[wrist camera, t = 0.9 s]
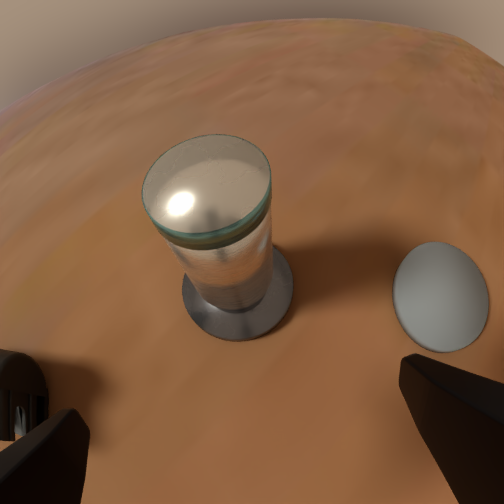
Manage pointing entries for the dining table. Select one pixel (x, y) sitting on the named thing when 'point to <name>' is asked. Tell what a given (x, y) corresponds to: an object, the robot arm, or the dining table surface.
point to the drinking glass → (215, 216)
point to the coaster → (440, 297)
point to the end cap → (21, 395)
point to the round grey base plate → (249, 318)
